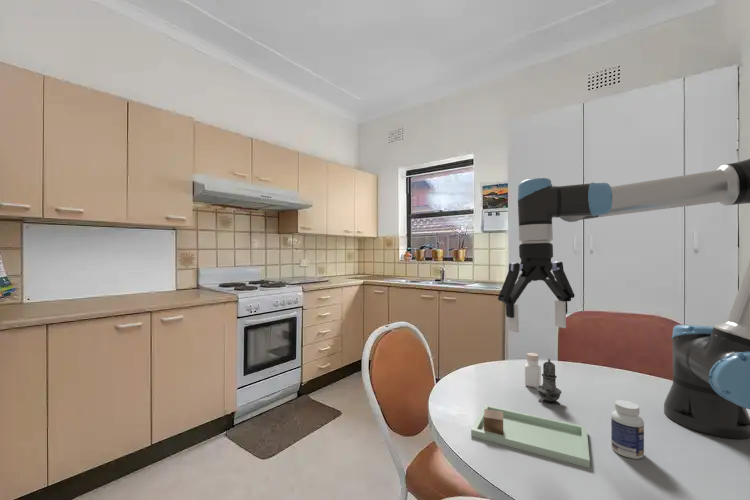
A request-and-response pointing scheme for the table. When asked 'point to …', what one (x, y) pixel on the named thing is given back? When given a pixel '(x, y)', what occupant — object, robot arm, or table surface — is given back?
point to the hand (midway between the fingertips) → (537, 329)
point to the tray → (538, 436)
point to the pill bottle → (627, 430)
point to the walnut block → (493, 421)
